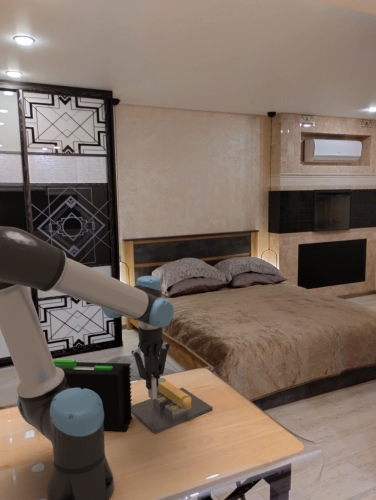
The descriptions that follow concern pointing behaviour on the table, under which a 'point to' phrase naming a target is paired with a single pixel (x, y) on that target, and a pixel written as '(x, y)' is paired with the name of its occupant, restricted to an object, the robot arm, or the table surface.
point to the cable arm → (173, 394)
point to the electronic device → (103, 388)
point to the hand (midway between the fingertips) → (152, 397)
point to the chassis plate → (161, 418)
